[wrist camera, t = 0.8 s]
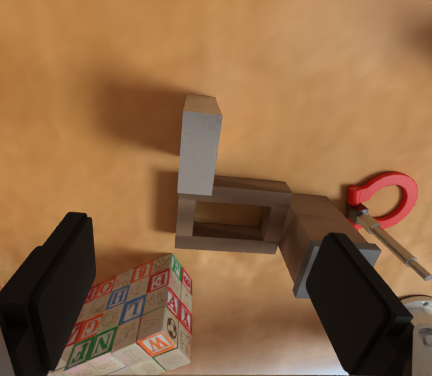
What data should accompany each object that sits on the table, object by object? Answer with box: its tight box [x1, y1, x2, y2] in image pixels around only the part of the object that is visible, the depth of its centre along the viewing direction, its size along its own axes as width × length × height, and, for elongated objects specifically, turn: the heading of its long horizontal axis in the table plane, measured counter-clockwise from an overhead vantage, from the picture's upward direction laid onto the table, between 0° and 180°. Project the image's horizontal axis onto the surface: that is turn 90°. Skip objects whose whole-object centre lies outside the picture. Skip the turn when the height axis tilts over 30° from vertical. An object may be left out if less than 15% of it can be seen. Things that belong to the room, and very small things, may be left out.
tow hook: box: [347, 172, 432, 281], centre depth 30 cm, size 8×13×9 cm
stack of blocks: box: [47, 253, 192, 376], centre depth 35 cm, size 21×6×12 cm, turn 115°
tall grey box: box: [177, 94, 223, 196], centre depth 26 cm, size 3×7×9 cm, turn 173°
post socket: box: [175, 176, 381, 298], centre depth 30 cm, size 9×19×11 cm, turn 83°
